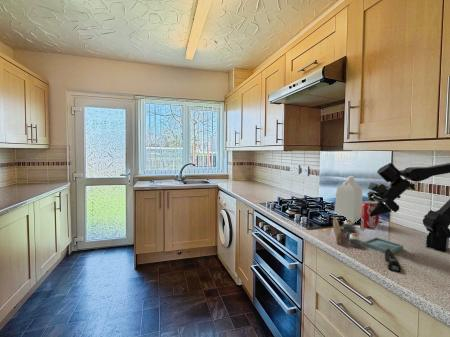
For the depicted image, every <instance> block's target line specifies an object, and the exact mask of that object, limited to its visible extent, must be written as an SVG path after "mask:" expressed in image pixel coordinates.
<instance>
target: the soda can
mask: <svg viewBox="0 0 450 337" xmlns="http://www.w3.org/2000/svg"><path fill="white" fill-rule="evenodd" d="M377 206H378V202H376V201H369V200H362V208H361V221H360V226H361V227H362V228H363V229H365V230H370V231H375V230H377V229H379V226H380V215H381V214H379V215H376V216H372V217H371V216H370V213H371V212H372V211H373V210H374V209H375V208H376V207H377Z"/></svg>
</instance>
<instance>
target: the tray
mask: <svg viewBox="0 0 450 337" xmlns="http://www.w3.org/2000/svg"><path fill="white" fill-rule="evenodd" d="M362 246H364V247H367V248H369V249H373V250H376V251H378V252H382V253H384V254H385V251H386V250H387V249H390V250H391V252H392V253H393V254H396V253H398V252H400V251H401V250H403V249H404V245H403V244H400V243H397V242H393V241H390V240H386V239H382V238H380V237H376V236H375V237H373V238H370V239H367V240H365V241H362Z"/></svg>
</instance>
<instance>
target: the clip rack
mask: <svg viewBox="0 0 450 337" xmlns="http://www.w3.org/2000/svg"><path fill="white" fill-rule="evenodd" d="M332 227H333V231H334V232H333V233H334V237H335V241H336V244H337V245H340V244H341V245H342V231H341V227H340V224H339V220H337V217H334V216H333V221H332ZM342 227H343V232H344V233H345V240H347V242H348V245H350V246H349V247H353V246H354V248H361V240H360V239H359V240H357V239H350V234H351V233H355V232H356V227H355V226H354V224H352V225H350V224H344V221H342ZM355 234H357V235H358V236H359V237H360V235H359V233H355ZM349 239H350V243H349Z"/></svg>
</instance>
